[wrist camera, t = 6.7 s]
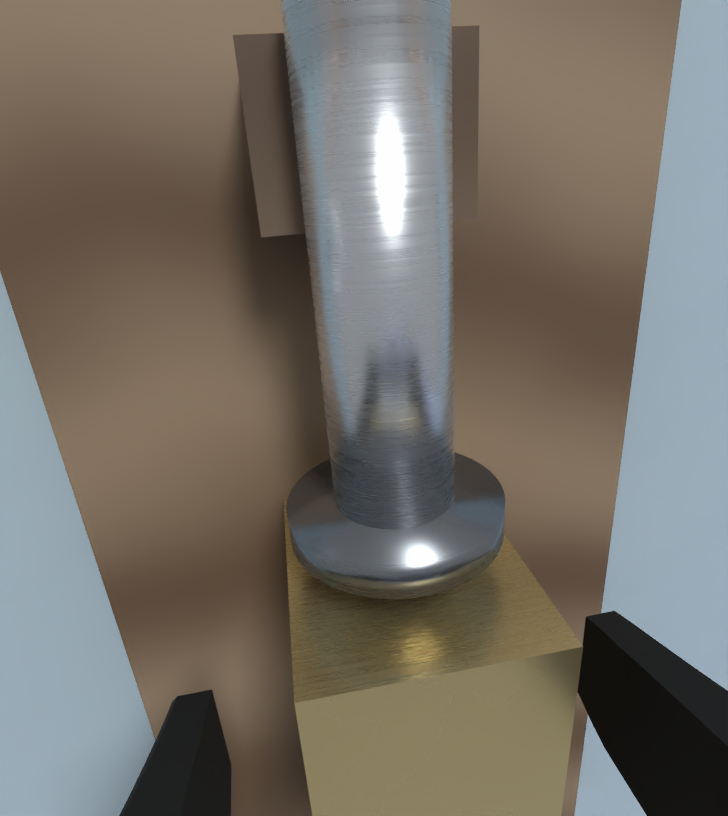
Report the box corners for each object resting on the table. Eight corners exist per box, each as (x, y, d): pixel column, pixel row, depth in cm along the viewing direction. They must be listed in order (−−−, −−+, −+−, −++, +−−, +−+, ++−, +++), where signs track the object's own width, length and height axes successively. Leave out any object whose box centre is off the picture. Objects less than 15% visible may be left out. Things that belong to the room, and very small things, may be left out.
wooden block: (459, 639, 14) (555, 860, 9) (307, 668, 13) (328, 917, 9) (461, 473, 12) (582, 646, 7) (283, 498, 11) (294, 703, 7)
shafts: (461, 868, 16) (509, 1036, 13) (347, 897, 16) (368, 1078, 13) (461, 26, 8) (595, -91, 5) (220, 35, 8) (185, -88, 4)
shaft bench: (557, 801, 19) (606, 903, 16) (218, 883, 17) (209, 1011, 15) (648, -21, 10) (796, -105, 7) (-57, 0, 8) (-219, -99, 5)
